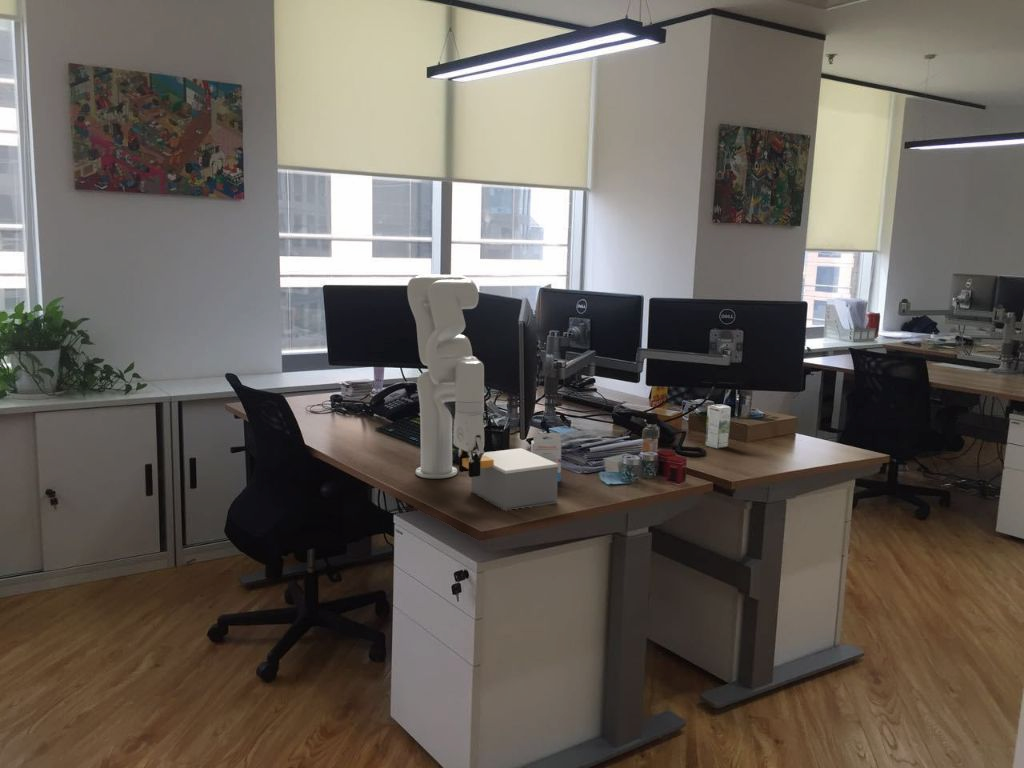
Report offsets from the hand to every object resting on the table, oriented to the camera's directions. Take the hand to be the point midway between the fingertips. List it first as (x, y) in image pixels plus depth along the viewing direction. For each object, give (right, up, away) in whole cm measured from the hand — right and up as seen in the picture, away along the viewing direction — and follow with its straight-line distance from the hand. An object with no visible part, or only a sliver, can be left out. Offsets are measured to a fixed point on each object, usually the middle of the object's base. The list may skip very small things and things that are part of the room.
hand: (469, 473), depth 228 cm
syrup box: (+83, +2, +70) cm, 109 cm away
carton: (+12, -7, +8) cm, 16 cm away
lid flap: (+9, +2, +5) cm, 10 cm away
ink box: (+21, -5, +25) cm, 34 cm away
